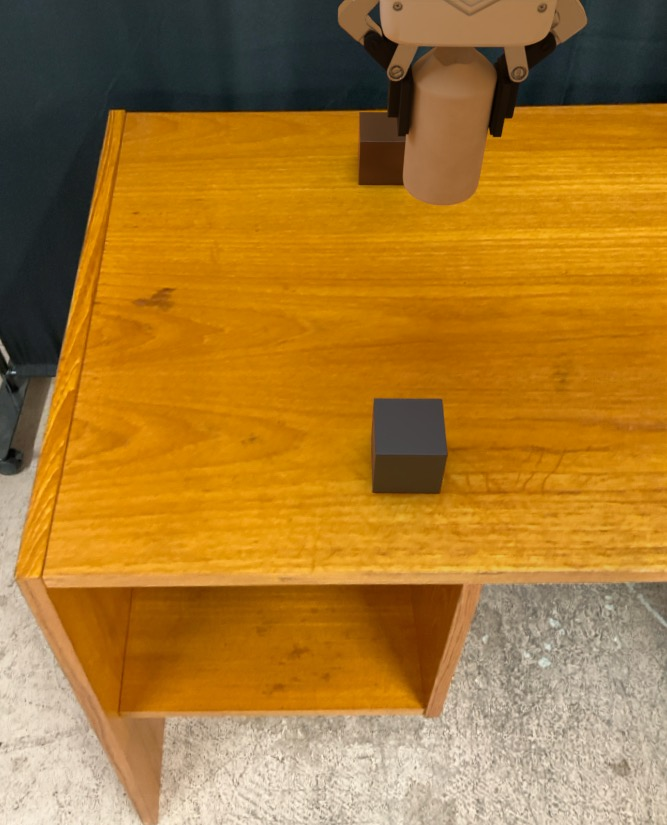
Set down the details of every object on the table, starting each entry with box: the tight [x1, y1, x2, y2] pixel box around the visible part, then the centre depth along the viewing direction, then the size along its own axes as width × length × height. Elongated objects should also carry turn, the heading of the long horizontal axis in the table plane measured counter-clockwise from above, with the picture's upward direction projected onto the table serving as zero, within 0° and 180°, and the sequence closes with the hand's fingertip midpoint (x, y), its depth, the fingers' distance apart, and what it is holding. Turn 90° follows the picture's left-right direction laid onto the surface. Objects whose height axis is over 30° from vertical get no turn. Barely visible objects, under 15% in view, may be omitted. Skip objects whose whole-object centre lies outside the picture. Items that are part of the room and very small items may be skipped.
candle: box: [403, 46, 497, 207], centre depth 56 cm, size 6×6×10 cm
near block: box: [370, 397, 449, 494], centre depth 60 cm, size 5×5×5 cm
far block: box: [357, 111, 406, 186], centre depth 82 cm, size 5×5×5 cm
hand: (447, 122), depth 56 cm, fingers closed on candle, 5 cm apart
